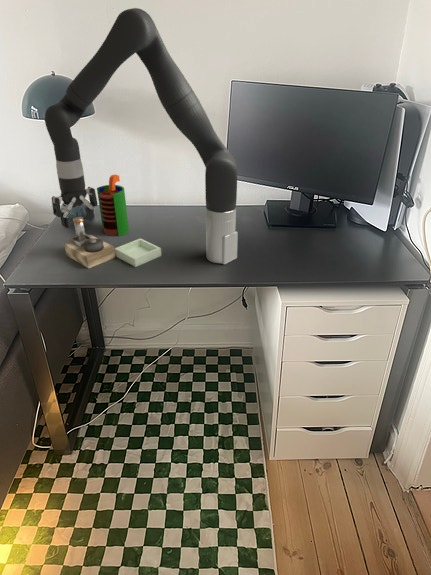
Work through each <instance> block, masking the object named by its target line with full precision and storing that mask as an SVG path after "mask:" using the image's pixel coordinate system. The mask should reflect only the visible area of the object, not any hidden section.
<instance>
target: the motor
mask: <svg viewBox="0 0 431 575" xmlns="http://www.w3.org/2000/svg"><path fill="white" fill-rule="evenodd" d="M120 181H121V180H120V175H118V174H112V175H110V176H109V180H108V184H106V185H101V186H98V187H97V188H96V191H97V193H96V194H97V201H98V205H99V211H100V219H101V224H102V230H103V232H104V234H105V235H107V236H118V237H121V236H124V235H126V234H128V233H129V231H130V228H129V218H128V209H127V203H126V202H127V200H126V192H125V188H124V186H122V185H119V184H116V183H117V182H120Z"/></svg>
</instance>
